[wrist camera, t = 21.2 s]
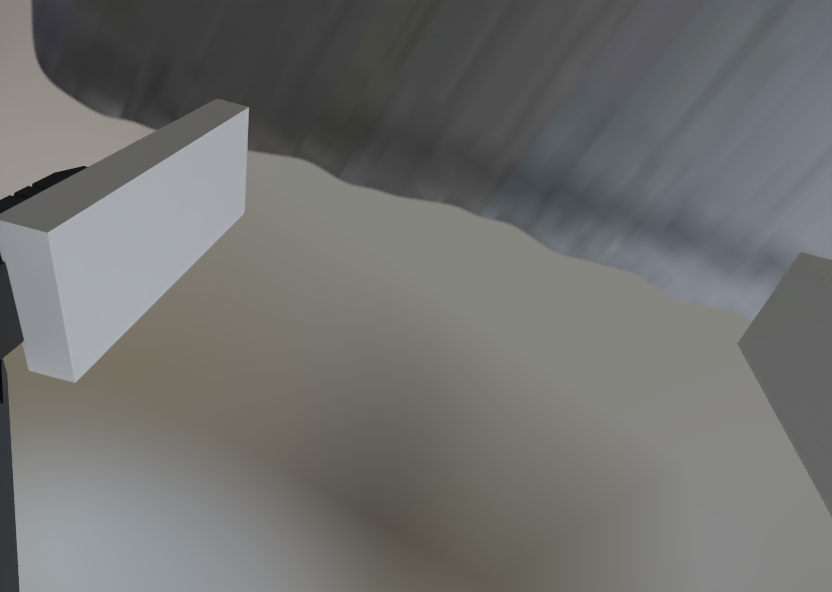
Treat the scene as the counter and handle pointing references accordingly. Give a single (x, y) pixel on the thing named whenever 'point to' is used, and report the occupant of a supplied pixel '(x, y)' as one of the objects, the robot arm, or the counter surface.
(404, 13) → the counter surface
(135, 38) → the counter surface
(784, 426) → the robot arm
